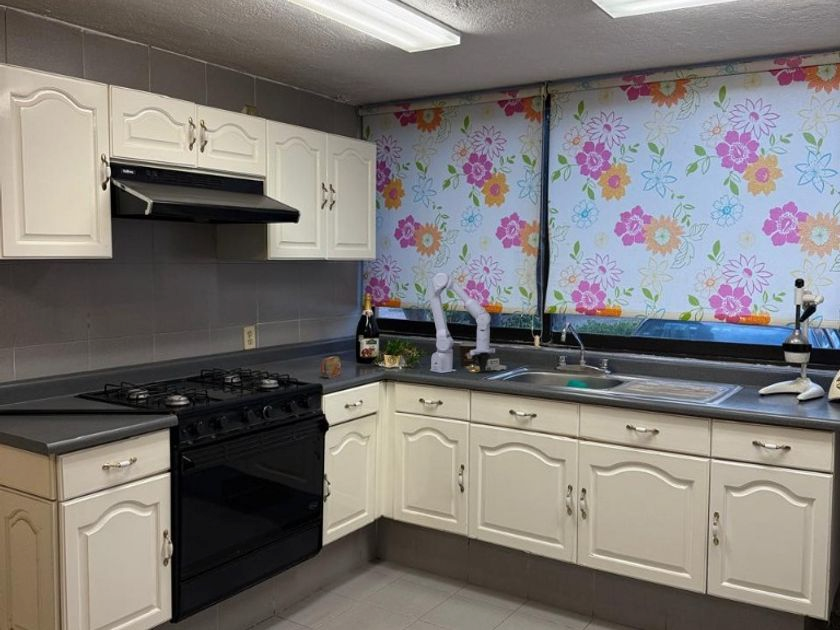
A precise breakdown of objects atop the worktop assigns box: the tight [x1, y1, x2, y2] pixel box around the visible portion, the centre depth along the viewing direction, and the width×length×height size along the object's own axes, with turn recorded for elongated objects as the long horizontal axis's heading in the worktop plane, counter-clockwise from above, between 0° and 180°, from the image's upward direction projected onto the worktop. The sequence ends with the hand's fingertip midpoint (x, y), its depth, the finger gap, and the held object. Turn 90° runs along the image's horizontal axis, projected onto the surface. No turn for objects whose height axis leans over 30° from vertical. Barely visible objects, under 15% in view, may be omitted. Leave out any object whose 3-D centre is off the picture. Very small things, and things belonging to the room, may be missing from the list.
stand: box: [486, 358, 507, 371], centre depth 348 cm, size 8×5×4 cm, turn 134°
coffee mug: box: [458, 343, 478, 367], centre depth 356 cm, size 12×9×10 cm
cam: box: [465, 363, 492, 373], centre depth 338 cm, size 11×6×3 cm, turn 57°
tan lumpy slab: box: [321, 355, 343, 379], centre depth 319 cm, size 15×3×8 cm, turn 161°
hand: (482, 369), depth 336 cm, fingers closed, pressing on cam
